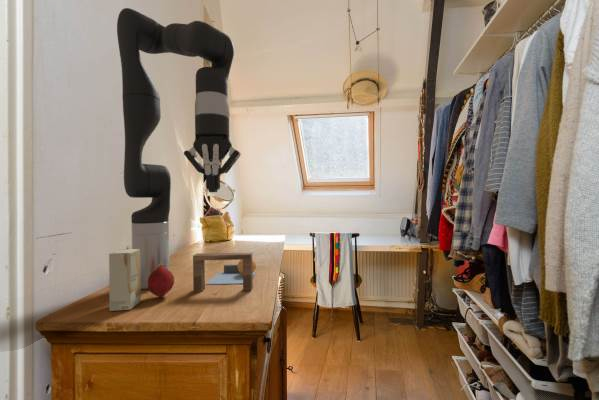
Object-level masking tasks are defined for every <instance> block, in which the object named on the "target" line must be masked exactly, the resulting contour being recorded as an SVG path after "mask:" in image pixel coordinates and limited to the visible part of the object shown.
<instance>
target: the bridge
mask: <svg viewBox="0 0 599 400" xmlns="http://www.w3.org/2000/svg"><path fill="white" fill-rule="evenodd" d="M252 259H253V252H214V253H213V252H210V253H209V252H208V253H207V252H205V253H204V252H203V253H195V254H193V255H192V275H193V278H192V279H193V281H192V282H193V288H192V289H193V290H192V291H193V293H202V292H204V290H205V289H206V277H205V276H206V273H205V271H206V269H205V268H206V267H205V266H206V265H205V262H206V261H231V260H233V261H235V260H238V261H240V260H243V284H242V291H243V292H251V291H252V290H253V288H254V286H253V285H254V283H253V282H254V281H253V279H254V277H253V269H252Z"/></svg>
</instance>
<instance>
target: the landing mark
mask: <svg viewBox="0 0 599 400" xmlns="http://www.w3.org/2000/svg"><path fill="white" fill-rule="evenodd" d="M255 276H256V272H255V271H254V272H253V278H255ZM207 285H209V286H210V285H243V275H242V274H241V273H224V272H217V273H216V274H215V275H214V276H212V277H211V279H209V281H207V282H206V283H205V286H207Z"/></svg>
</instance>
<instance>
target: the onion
mask: <svg viewBox="0 0 599 400" xmlns="http://www.w3.org/2000/svg"><path fill="white" fill-rule="evenodd" d="M174 284H175V277H174V274H173V273H172V272H171V271H170V269H169V270H168V269H166V268H164V264H160V265H159V266H158V267H157V268H156V269H155V270H154V271H153V272H152V273H151V274H150V276H149V278H148V281H147V285H148V288H147V289H148V291H149V292H150V293H151V294H152V295H154V296H156V297H158V298H164V297H165V295H166V294H168V293H169V292H170V290H172V288H173V287H174Z"/></svg>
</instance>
